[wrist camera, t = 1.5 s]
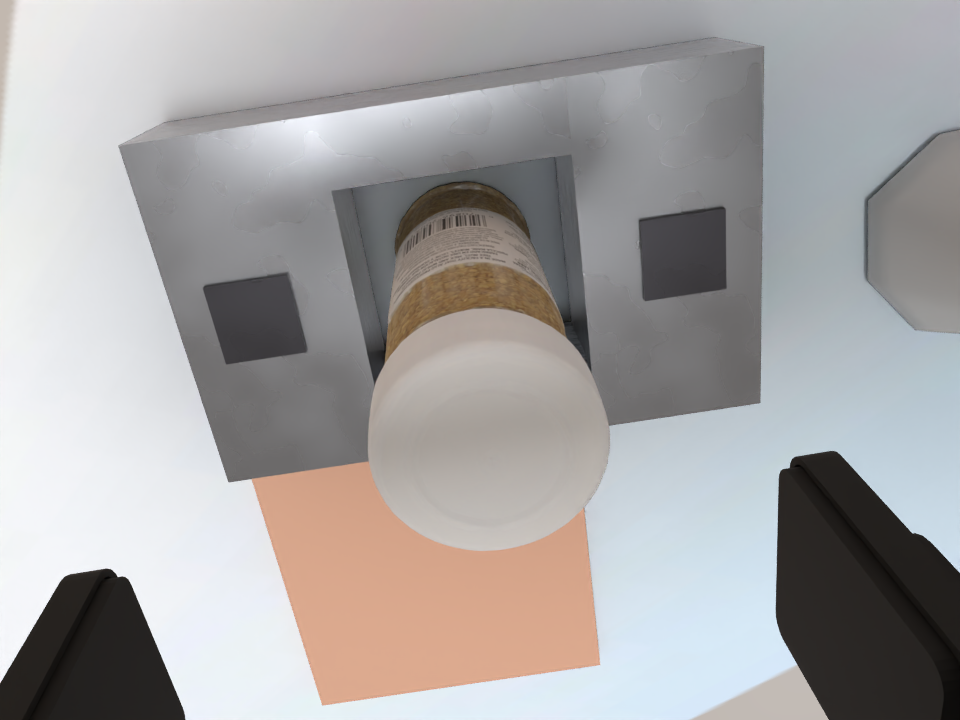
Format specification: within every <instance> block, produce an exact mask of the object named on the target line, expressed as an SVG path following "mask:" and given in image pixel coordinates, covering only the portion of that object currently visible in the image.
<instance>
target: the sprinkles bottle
mask: <svg viewBox="0 0 960 720" xmlns="http://www.w3.org/2000/svg"><path fill="white" fill-rule="evenodd" d="M395 254H396V263H395V270H394V277H393V284H392V291H391V299H390V307H389V314H388V331H387V343H386V355H385V365H384V366H383V368H382V370H381V372H380V374H379V376H378V378H377V380H376V384H375V387H374V391H373V396H372V402H371V409H370V417H369V429H368V458H369V465H370V469H371V473H372V477H373V480H374V482H375V485H376V487H377V489H378V491H379V493H380V495H381V496H382V498H383V500H384V501H385V503H386V504H387V506H388V507H389V508H390V509H391V511H392V512H393V513H394V514H395V515H396V516H397V517H398V518H399V519H400V520H401V521H403V522H404V523H405V524H406V525H407V526H409V527H410V528H411V529H413V530H414V531H416V532H417V533H419V534H421V535H422V536H424V537H426V538H428V539H431V540H433V541H435V542H438V543H441V544H443V545H447V546H451V547H455V548H460V549H465V550H473V551H492V550H503V549H509V548H514V547H519V546H522V545H526V544H529V543H532V542H534V541H537V540H540V539H542V538H544V537H546V536H548V535H550V534H551V533H553V532H555V531H557V530H558V529H560V528H561V527H563V526H564V525H566V524H567V523H568V522H569V521H570V520H572V519H573V518H574V517H575V516H576V515H577V514H578V513H579V512H580V511H581V510H582V509H583V508H584V507H585V505H586V504H587V503H588V502H589V500H590V499H591V497H592V496H593V495H594V493H595V492H596V490H597V488H598V486H599V484H600V482H601V480H602V477H603V475H604V472H605V469H606V466H607V463H608V455H609V448H610V433H609V424H608V419H607V415H606V412H605V409H604V406H603V403H602V400H601V397H600V395H599V392H598V389H597V386H596V384H595V381H594V379H593V376H592V374H591V372H590V370H589V368H588V366H587V364H586V362H585V361H584V359H583V358H582V356H581V354H580V353H579V351H578V350H577V349H576V348H575V347H574V345H573V344H572V343H571V342H570V341H569V340H568V339H567V337H566V335H565V327H564V324H563V320H562V317H561V314H560V312H559V309H558V306H557V304H556V302H555V299H554V297H553V295H552V292H551V289H550V287H549V284H548V282H547V279H546V276H545V274H544V271H543V269H542V266H541V264H540V261H539V259H538V256H537V254H536V251H535V249H534V247H533V245H532V243H531V242H530V234H529V229H528V226H527V224H526V221H525V219H524V218H523V216H522V214H521V212H520V211H519V209H518V208H517V206H516V205H515V204H514V203H513V202H511V201H510V200H509V199H508V198H507V197H506V196H505V195H503V194H502V193H500V192H498V191H497V190H495V189H493V188H491V187H488V186H484V185H481V184H478V183H472V182H462V183H451V184H448V185H445V186H439V187H436V188H434V189H432V190H430V191H429V192H427V193H426V194H425V195H423V196H421V197H420V198H419V199H418V200H417V201H415V202H414V203H413V204H412V206H411V207H410V209H409V210H408V212H407V213H406V215H405V216H404V217H403V218H402V220H401V223H400V225H399V229H398V231H397V235H396V240H395Z"/></svg>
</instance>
